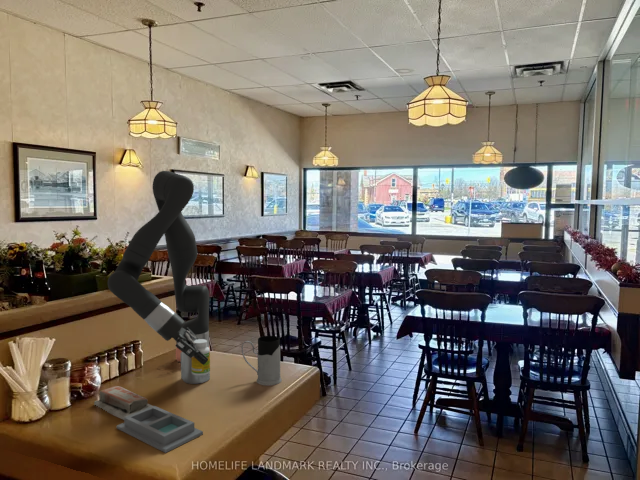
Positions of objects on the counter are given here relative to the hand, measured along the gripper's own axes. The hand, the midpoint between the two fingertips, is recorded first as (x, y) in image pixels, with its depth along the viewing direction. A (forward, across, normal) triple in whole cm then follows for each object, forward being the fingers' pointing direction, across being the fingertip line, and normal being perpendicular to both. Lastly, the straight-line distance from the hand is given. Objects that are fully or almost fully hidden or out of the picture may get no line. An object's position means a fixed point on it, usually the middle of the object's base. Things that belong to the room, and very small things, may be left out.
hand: (206, 358), depth 147 cm
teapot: (+5, +46, +18) cm, 50 cm away
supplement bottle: (+2, 0, +4) cm, 5 cm away
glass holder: (+23, +21, 0) cm, 31 cm away
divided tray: (+3, -12, +20) cm, 23 cm away
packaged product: (-6, +5, +30) cm, 31 cm away
